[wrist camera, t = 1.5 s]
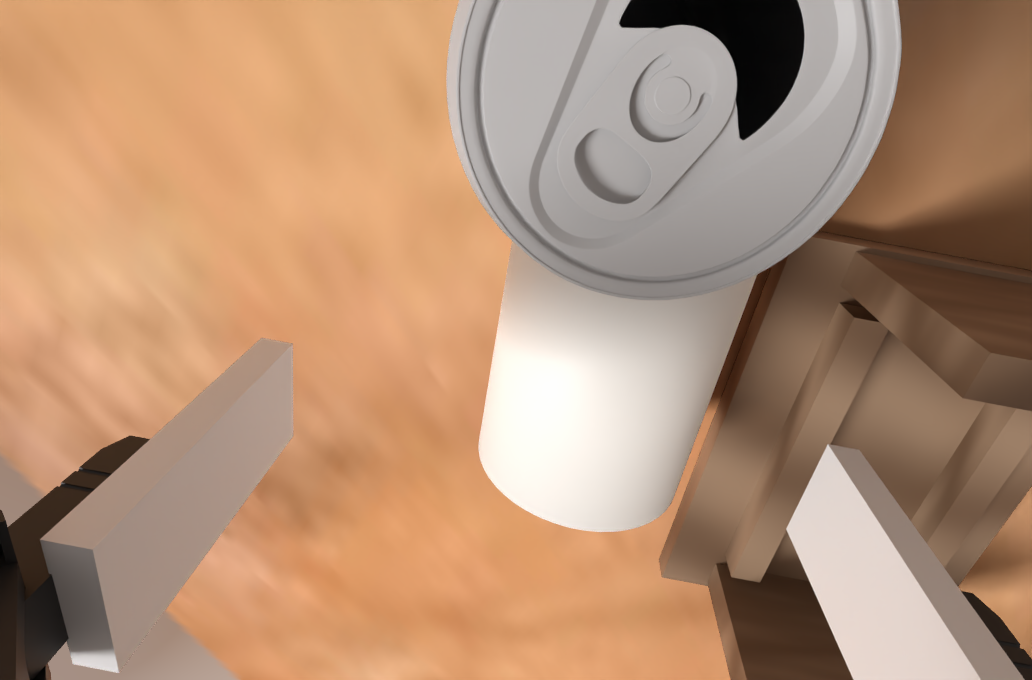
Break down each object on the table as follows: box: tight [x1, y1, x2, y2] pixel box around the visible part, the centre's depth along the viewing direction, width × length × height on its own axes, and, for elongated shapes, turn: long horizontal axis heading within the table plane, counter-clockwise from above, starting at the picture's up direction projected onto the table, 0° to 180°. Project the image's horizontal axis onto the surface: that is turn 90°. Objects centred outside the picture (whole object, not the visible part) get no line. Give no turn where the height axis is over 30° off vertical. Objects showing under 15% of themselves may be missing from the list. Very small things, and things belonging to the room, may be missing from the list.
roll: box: [479, 241, 757, 532], centre depth 19 cm, size 9×7×7 cm
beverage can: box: [447, 0, 902, 300], centre depth 13 cm, size 6×6×12 cm
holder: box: [659, 231, 1032, 680], centre depth 20 cm, size 16×12×8 cm
